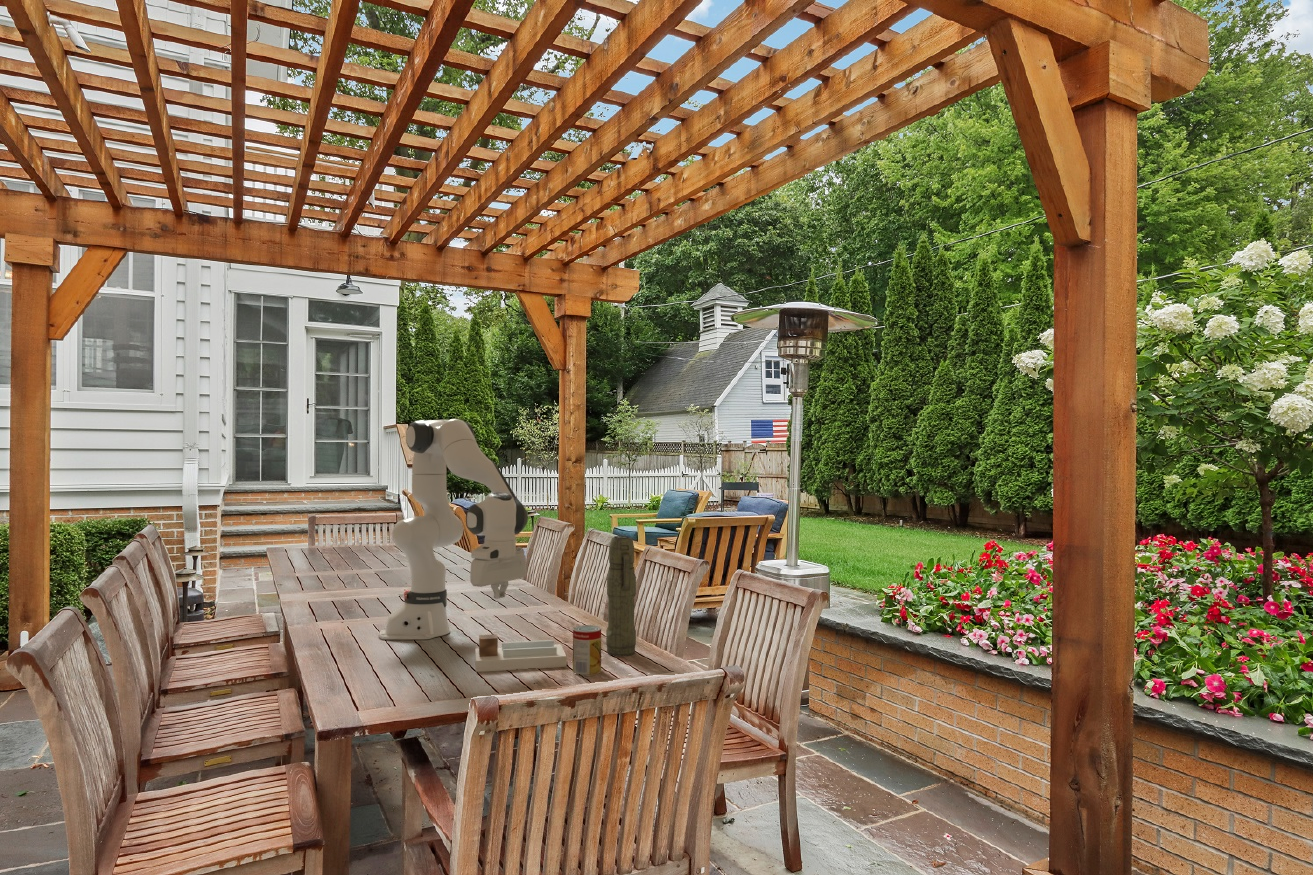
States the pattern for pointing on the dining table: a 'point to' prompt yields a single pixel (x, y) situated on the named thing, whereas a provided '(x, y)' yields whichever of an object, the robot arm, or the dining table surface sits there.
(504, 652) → the channel
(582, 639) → the canned food
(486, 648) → the walnut block
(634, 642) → the thermos
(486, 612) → the dining table surface
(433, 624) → the robot arm
